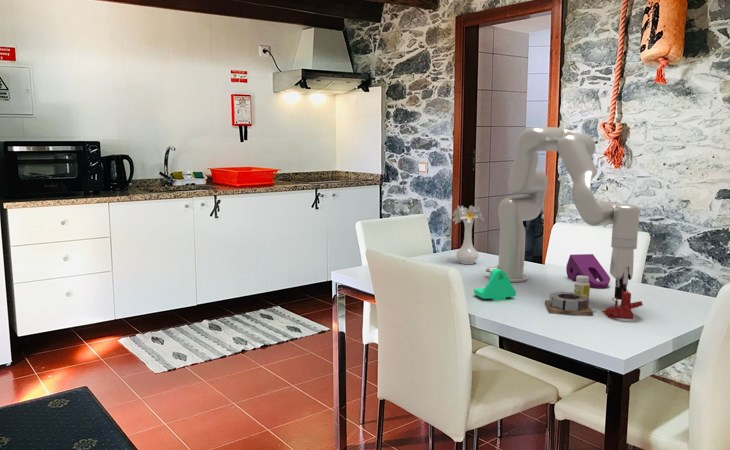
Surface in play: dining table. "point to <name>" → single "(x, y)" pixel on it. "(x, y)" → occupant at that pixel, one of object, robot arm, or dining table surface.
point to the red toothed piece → (622, 307)
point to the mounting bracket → (587, 270)
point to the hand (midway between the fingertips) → (620, 298)
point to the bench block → (559, 311)
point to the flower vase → (467, 233)
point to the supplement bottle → (582, 285)
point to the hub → (568, 301)
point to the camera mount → (496, 287)
